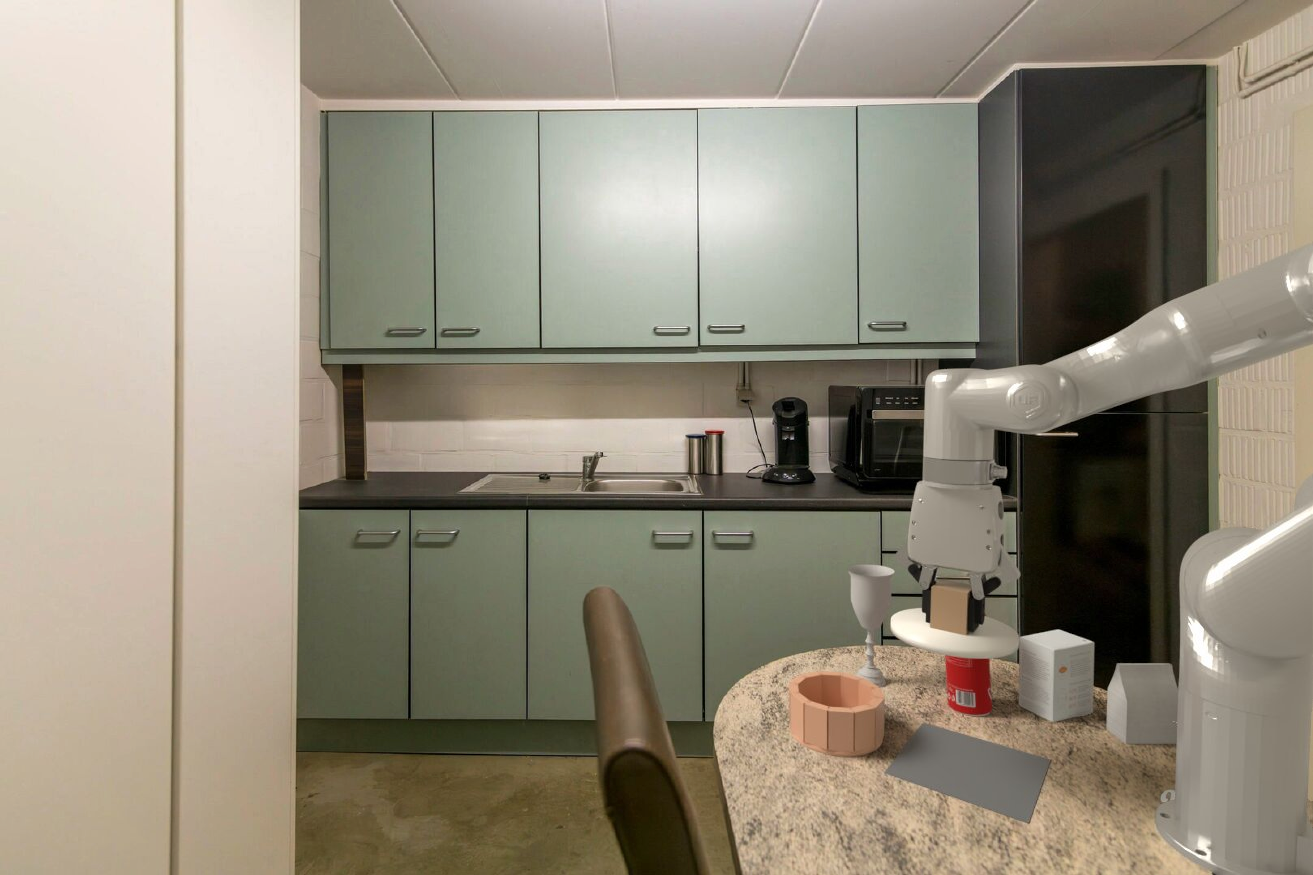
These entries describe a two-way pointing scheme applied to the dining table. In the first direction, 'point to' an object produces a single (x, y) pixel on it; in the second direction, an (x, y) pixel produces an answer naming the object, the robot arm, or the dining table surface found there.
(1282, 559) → the robot arm
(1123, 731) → the white gabled block
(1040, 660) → the small box
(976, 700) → the beverage can
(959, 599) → the lid
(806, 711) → the bowl
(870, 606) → the chalice
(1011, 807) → the mat
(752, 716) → the dining table surface
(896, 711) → the dining table surface
